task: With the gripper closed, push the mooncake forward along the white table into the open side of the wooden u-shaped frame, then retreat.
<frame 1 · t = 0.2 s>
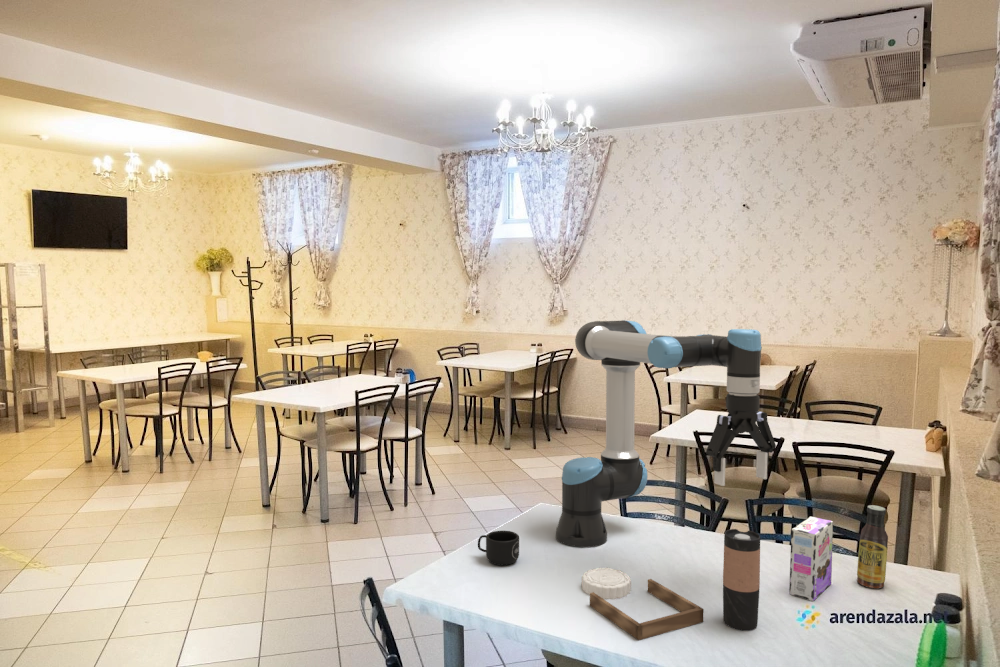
hand: (740, 481, 165), 28 cm above the table, fingers open, 13 cm apart
mooncake: (606, 590, 170), on the table
travel mug: (740, 623, 152), on the table
sauce bottle: (871, 585, 172), on the table
mug: (497, 561, 187), on the table
wooden u-shaped frame: (645, 613, 156), on the table
candy box: (810, 590, 170), on the table
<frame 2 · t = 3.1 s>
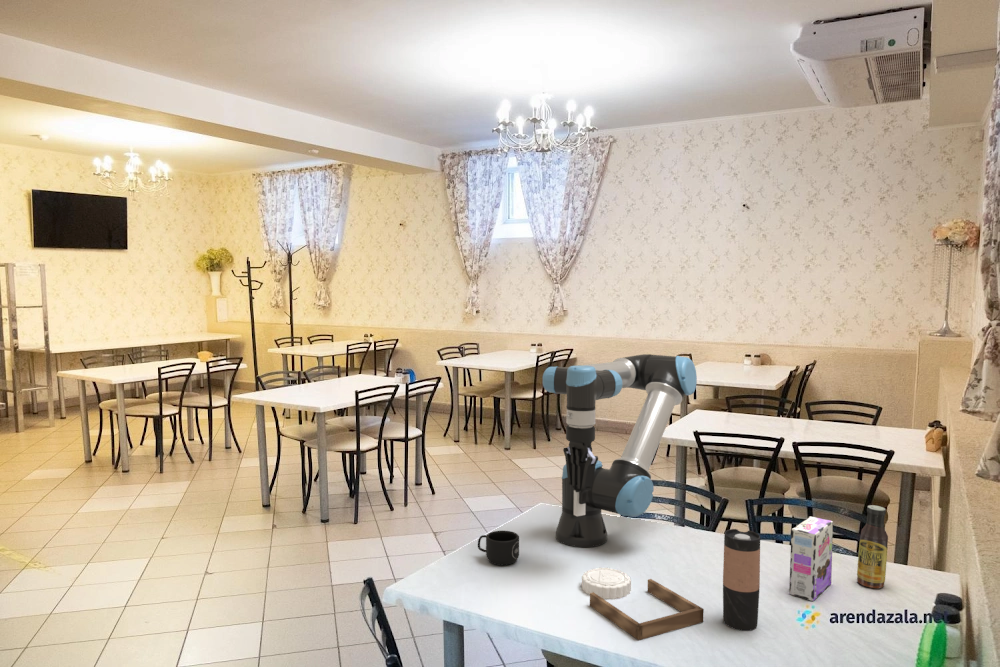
hand: (579, 514, 179), 15 cm above the table, fingers closed
nothing on the table moved.
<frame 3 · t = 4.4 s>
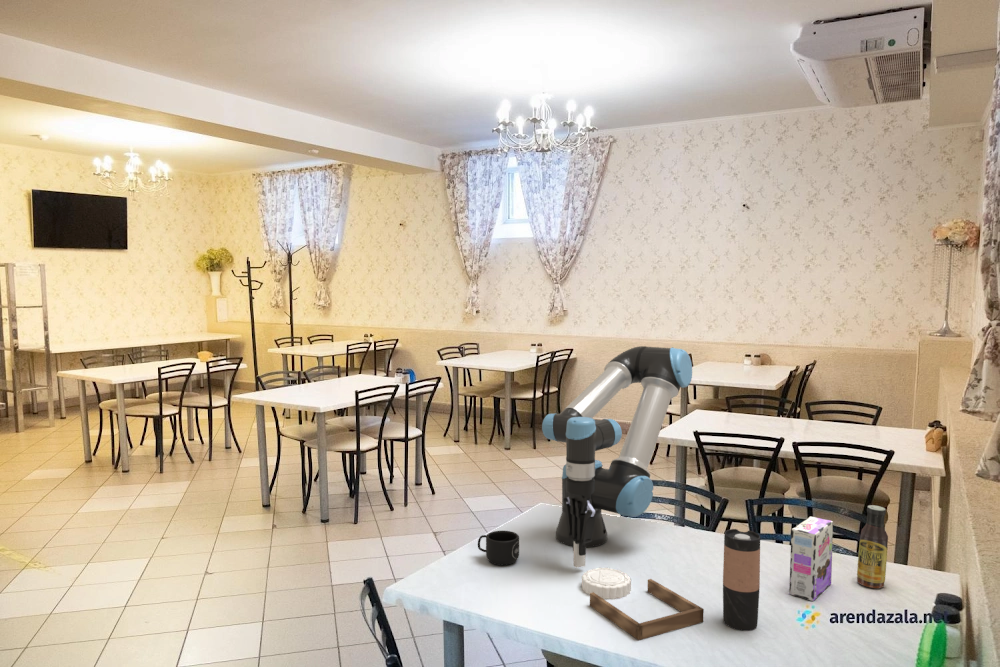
hand: (579, 565, 180), 1 cm above the table, fingers closed
nothing on the table moved.
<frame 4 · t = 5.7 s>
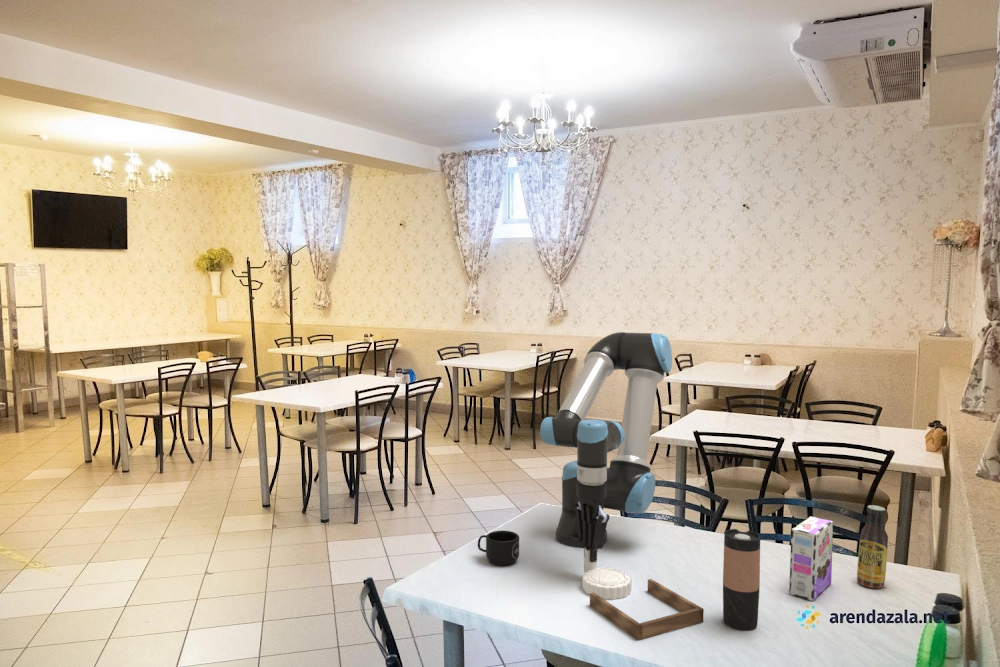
hand: (590, 572, 175), 2 cm above the table, fingers closed
mooncake: (606, 590, 169), on the table, touching gripper
everything else where it was.
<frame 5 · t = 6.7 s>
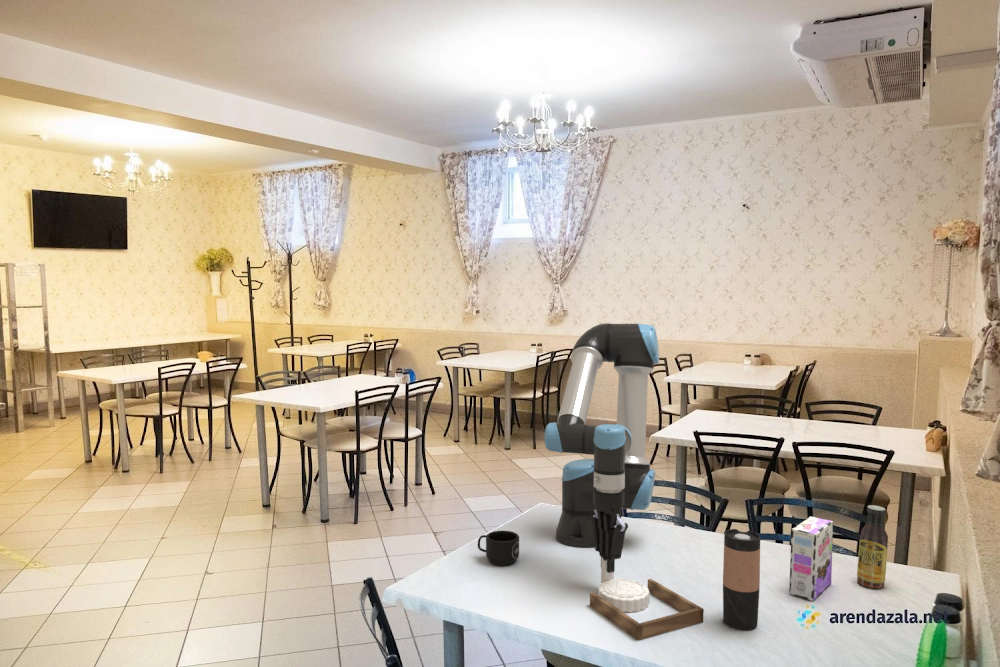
hand: (607, 583, 169), 2 cm above the table, fingers closed
mooncake: (623, 602, 163), on the table, touching gripper
everything else where it was.
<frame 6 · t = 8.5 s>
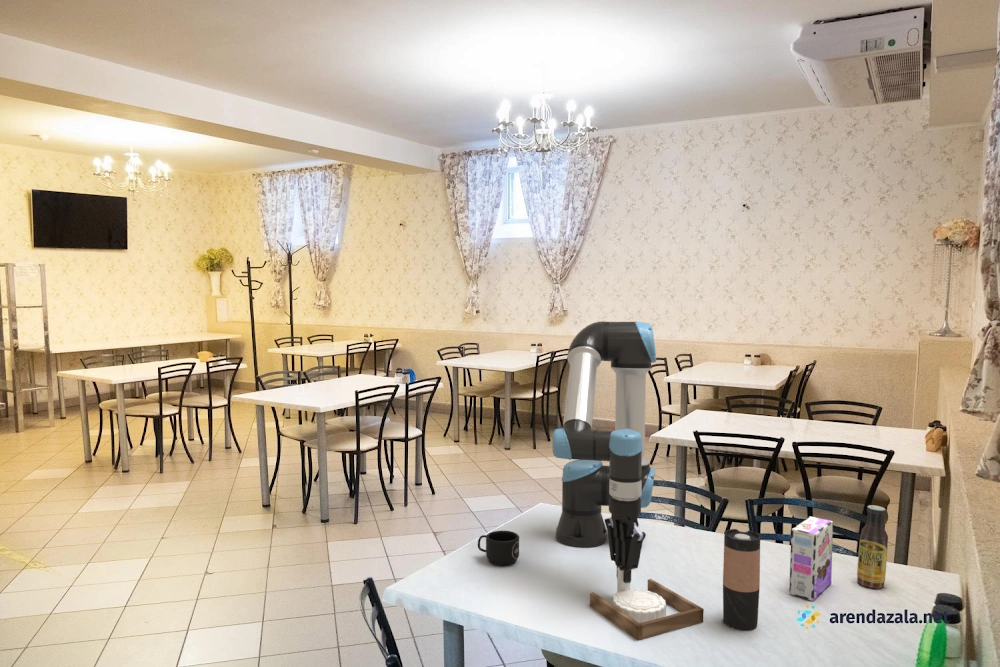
hand: (623, 593, 163), 1 cm above the table, fingers closed
mooncake: (639, 614, 157), on the table
everything else where it was.
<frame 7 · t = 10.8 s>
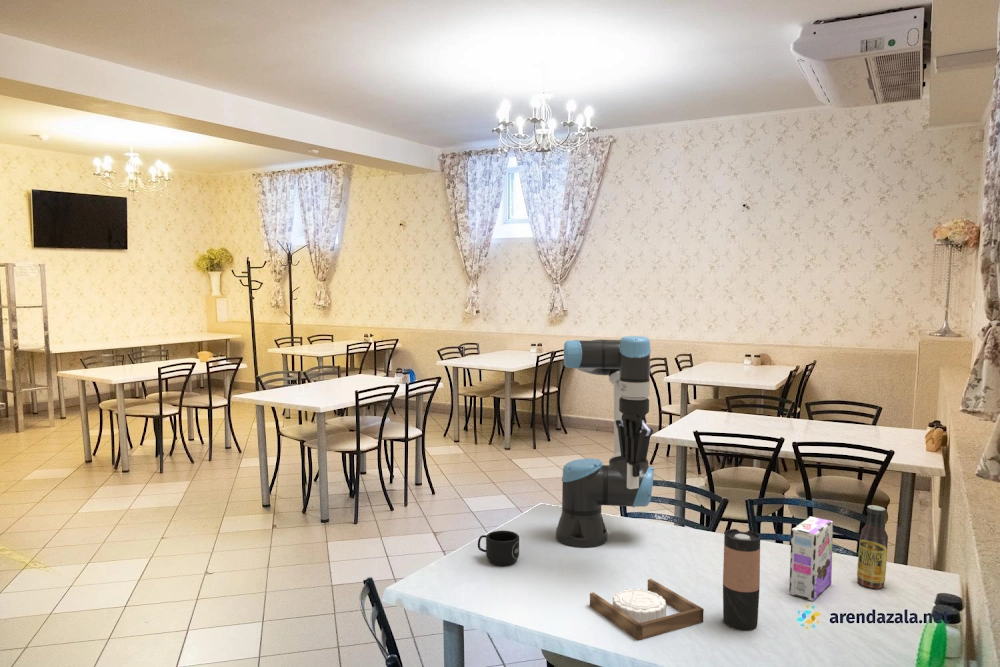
hand: (632, 487, 177), 23 cm above the table, fingers closed
nothing on the table moved.
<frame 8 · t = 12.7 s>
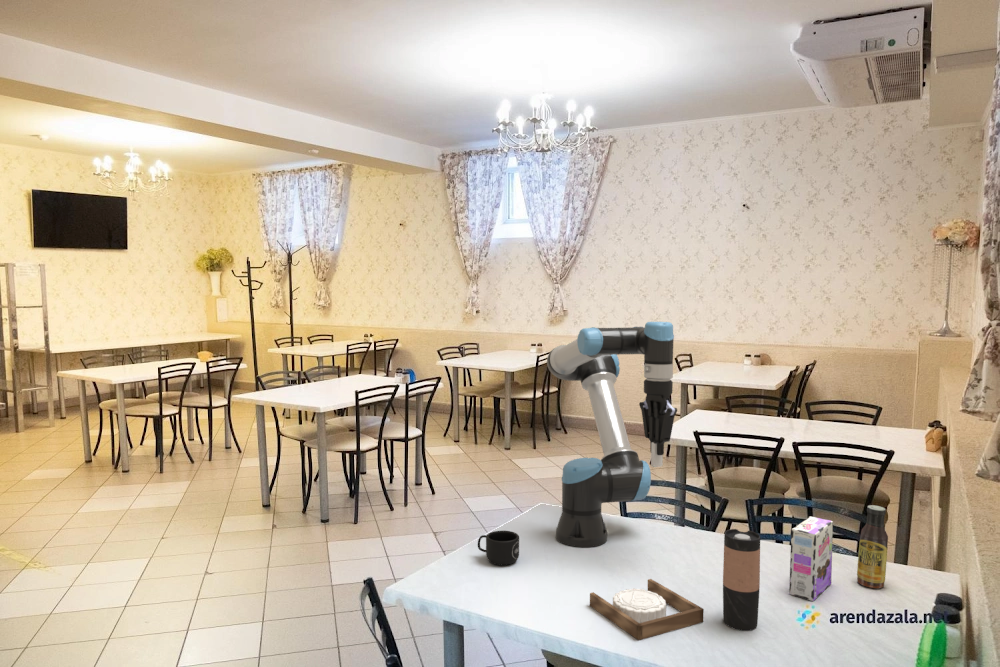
hand: (656, 466, 185), 26 cm above the table, fingers closed
nothing on the table moved.
at the end: mooncake inside the target area on the wooden u-shaped frame (1.7 cm from its centre), point -0.5 cm above the wooden u-shaped frame's base; mooncake moved 13.7 cm from its start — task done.
